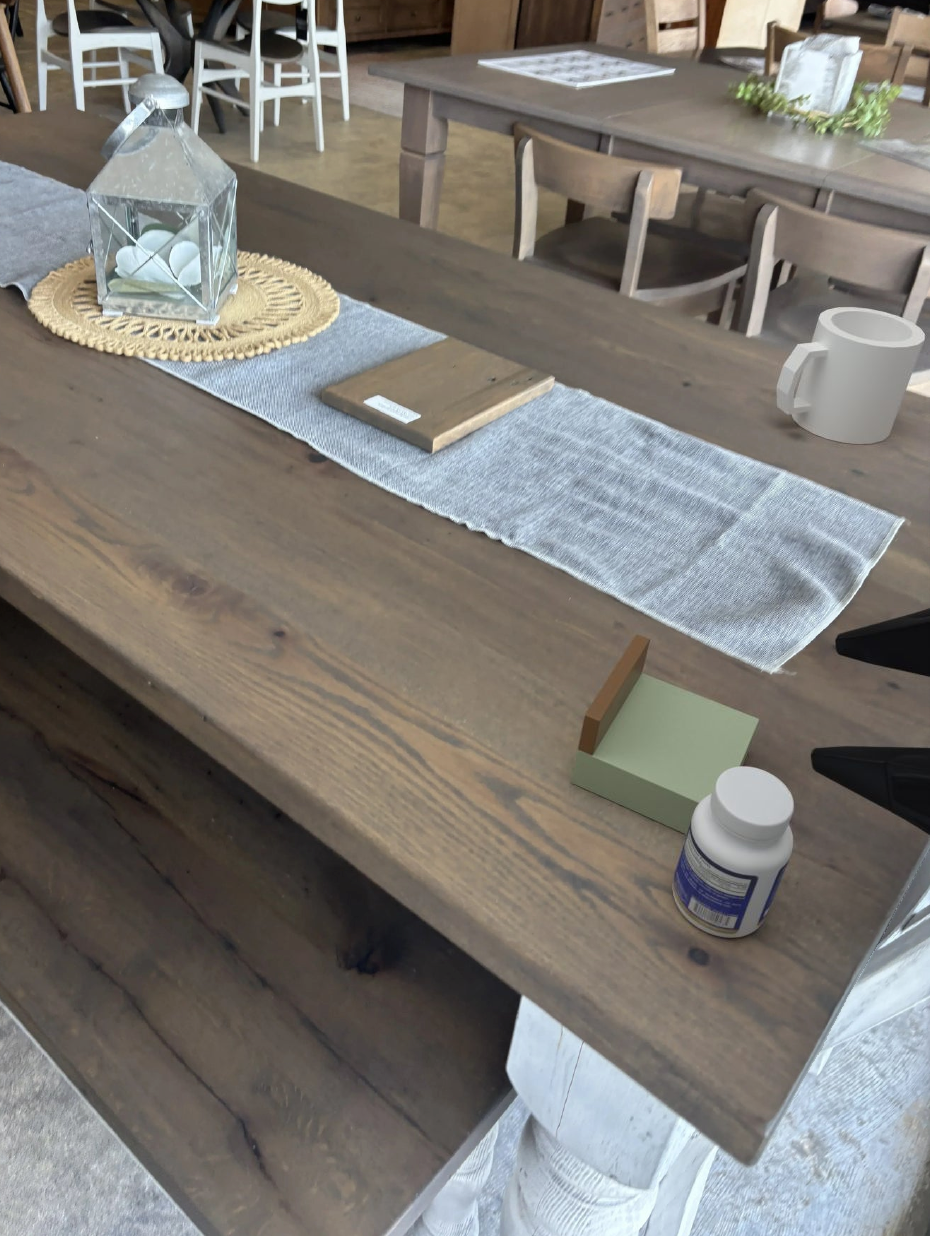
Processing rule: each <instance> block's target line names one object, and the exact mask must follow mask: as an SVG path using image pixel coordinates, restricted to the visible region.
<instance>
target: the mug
mask: <svg viewBox="0 0 930 1236" xmlns="http://www.w3.org/2000/svg"><path fill="white" fill-rule="evenodd" d="M925 339H926V334H925V333H924V331H923V330H922V328H921V327H920V326H918V325H916V324H915V323H914V322H912V321H910V320H908V319H907V318H906V319H905V318H903V317H901V316H900V315H899V316H898V315H896V314H893V313H889V312H886V311H881V310H876V309H873V308H872V309H871V308H864V307H856V306H855V307H854V306H843V307H842V306H840V307H838V306H837V307H833V308H829V309H826V310H824V311H822V312H820V314H819V316H818V319H817V322H816V326H815V329H814V332H813V335H812V339H811V342H805V343H797V345H796V346H795V347H794V349H793V350H792V352H791V353H790V355H789V356H788V358H787V359H786V360H785V362H784V363H783V365H782V367H781V371H780V374H779V377H778V381H777V383H776V407H777V408H778V409H779V410H781V411H782V412H783V413H785V414H786V415H791V418H792V420H793V421H794V422H795V423H796V424H797V425H798V426H799V427H800V428H802V429H804V430H805V431H807V432H809V433H810V434H813V435H815V436H818V437H821V438H823V439H826V440H830V441H834V442H838V443H842V444H851V445H873V444H876V443H880V442H883V441H884V440H887V438H888V437H889V436H890V434H891V432H892V429H893V426H894V424H895V421H896V419H897V415H898V414H899V413H898V412H899V410H900V407H901V404H902V402H903V399H904V396H905V394H906V391H907V388H908V386H909V383H910V380H911V378H912V375H913V373H914V370H915V366H916V364H917V361H918V359H919V356H920V353H921V350H922V348H923V345H924V343H925ZM800 375H801V376H800ZM798 382H799V384H798ZM797 385H798V386H797ZM795 391H796V393H795Z"/></svg>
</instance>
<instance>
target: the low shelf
mask: <svg viewBox="0 0 930 1236" xmlns="http://www.w3.org/2000/svg"><path fill="white" fill-rule="evenodd" d="M650 644H651V639H650V638H648V637H646V636H643V635H640V634H638V633H636V634H635V635H634V637H633V638H632V640H631V641H630V643H629V645H628V646H627V648H626V649H625V651H624V653H623V654H622V655H621V657H620V659H619V660H618V662H617V663H616V665H615V666H614V668H613V669H612V672H611V673H610V675H609V676H608V678H607V679H606V680H605V682H604V684H603V685H602V687H601V689H600V690H599V691H598V693H597V695H596V696H595V698H594V700H593V701H592V703H591V704H590V706H589V707H588V709H587V711H586V713H584V717H583V721H582V727H581V732H580V736H579V741H578V746H577V751H576V756H575V760H574V765H573V769H572V775H571V780H570V783H571V784H573V785H575V786H578V787H579V788H582V789H583V790H587V791H588V792H591V793H593V794H595V795H597V796H599V797H602V798H603V799H606V800H608V801H610V802H613V803H615V804H616V805H617V804H618V805H619V806H622V807H625V808H626V809H628V810H630V811H633V812H635V813H638V814H640V815H642V816H644V817H646V818H649V819H650V820H653V821H655V822H658V823H660V824H662V825H664V826H666V827H669V828H671V829H673V830H675V831H678V832H680V833H682V834H683V835H685V836H686V835H687V832H688V829H689V825H690V822H691V819H692V816H693V813H694V811H695V809H696V807H697V805H698V804H699V803H700V801H701V800H703V799H704V798H705V797H707V796H708V795H710V794H712V792H713V789H714V786H715V784H716V781H717V779H718V778H719V776H720V775H721V774H722V773H723V772H724V771H726V770H728V769H730V768H734V767H740V766H743V765H744V764H745V761H746V758H747V756H748V753H749V751H750V748H751V745H752V743H753V740H754V736H755V734H756V731H757V728H758V726H759V723H760V718H758V717H756V716H752V715H750V714H747V713H745V712H743V711H740V710H737V709H735V708H732V707H730V706H728V705H725V704H723V703H719V702H717V701H715V700H711V699H710V698H706V697H705V696H702V695H699V694H696V693H695V692H693V691H689V690H686V689H684V688H682V687H679V686H676V685H673V684H672V683H669V682H666V681H663V680H661V679H658V678H655V677H653V676H651V675H648V674H646V673H644V672H643V670H644V667H645V664H646V663H645V662H646V659H647V655H648V650H649V646H650Z"/></svg>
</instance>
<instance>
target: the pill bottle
mask: <svg viewBox="0 0 930 1236" xmlns="http://www.w3.org/2000/svg"><path fill="white" fill-rule="evenodd" d="M794 808H795V801H794V797H793V795H792V793H791V791H790V789H789V788H788V787H787V786H786V785H785V783H784V782H782V780H780V779H779V778H778V777H777V776H776V775H774V774H772V773H770V772H768V771H766V770H764V769H760V768H757V767H755V766H754V767H753V766H740V767H734V768H730V769H728V770H726V771H724V772H723V773H722V774H721V775H720V776H719V778H718V779H717V781H716V784H715V786H714V789H713V792H712V794H710V795H708V796H707V797H705V798H704V799H703V800H701V801H700V803H699V804H698V805H697V807H696V809H695V811H694V813H693V816H692V819H691V822H690V825H689V829H688V832H687V835H686V834H685V839H684V842H683V846H682V849H681V852H680V855H679V858H678V861H677V864H676V868H675V872H674V875H673V879H672V887H671V889H672V895H673V899H674V902H675V904H676V907H677V908H678V909H679V911H680V912H681V914H682V915H683V916H684V918H686V919H687V921H688V922H690V923H691V924H692V925H694V926H695V927H696V928H698V929H700V930H701V931H703V932H705V933H707V934H710V935H712V936H717V937H721V938H732V939H733V938H741V937H745V936H748V935H751V934H753V933H754V932H755V931H758V929H759V928H760V927H761V926H762V925H763V923H764V921H765V920H766V917H767V916H768V914H769V911H770V908H771V906H772V903H773V901H774V898H775V896H776V893H777V890H778V889H779V886H780V883H781V881H782V878H783V876H784V874H785V872H786V869H787V866H788V864H789V862H790V859H791V856H792V853H793V849H794V836H793V832H792V828H791V826H790V821H791V819H792V816H793V813H794V810H795V809H794Z"/></svg>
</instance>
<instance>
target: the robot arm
mask: <svg viewBox="0 0 930 1236" xmlns="http://www.w3.org/2000/svg"><path fill="white" fill-rule="evenodd" d="M834 641H835V651H836V653H837V655H839V656H842V657H845V658H849V659H852V660H855V661H859V662H862V663H866V664H869V665H874V666H879V667H884V668H888V669H892V670H897V671H901V672H906V673H910V674H914V675H919V676H924V677H929V678H930V607H928V608H926V609H925V608H924V609H922V610H919V611H916V612H912V613H909V614H906V615H902V616H897V617H895V618H891V619H887V620H884V621H880V622H876V623H872V624H869V625H866V626H862V627H857V628H855V629H852V630H847V631H843V632H840V633H837V635H836V636H835V639H834ZM810 763H811V768H812V770H813V771H814V772H816V773H817V774H819V775H821V776H823V777H824V778H827V779H829V780H830V781H833V782H834V783H836V784H837V785H840V786H842V787H843V788H845V789H847V790H849V791H850V792H853V793H854V794H857V795H858V796H860V797H862V798H864V799H866V800H867V801H869V802H871V803H873V804H875V805H877V806H879V807H881V808H883V809H884V810H886V811H887V812H890V813H891V814H893V815H894V816H897V817H899V818H900V819H903V820H904V821H906V822H907V823H909V824H911V825H912V826H915V827H916V828H917V829H919V830H921V831H922V832H923V833H925V834H927V835H928V836H930V747H918V746H917V747H916V746H915V747H913V746H870V745H869V746H865V745H839V746H837V745H836V746H824V747H823V746H822V747H815V748H812V749H811V751H810Z"/></svg>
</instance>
